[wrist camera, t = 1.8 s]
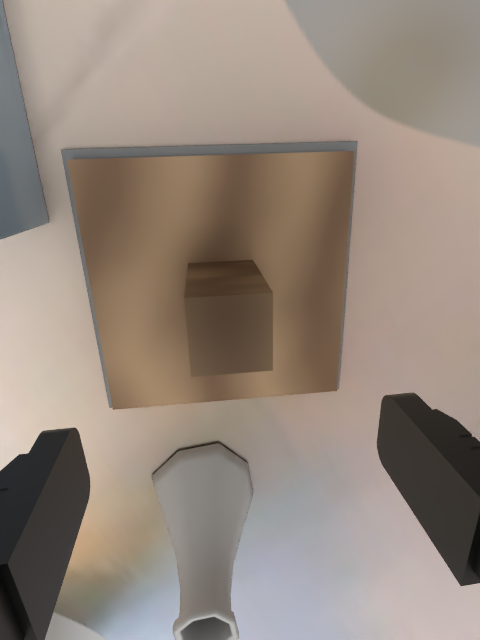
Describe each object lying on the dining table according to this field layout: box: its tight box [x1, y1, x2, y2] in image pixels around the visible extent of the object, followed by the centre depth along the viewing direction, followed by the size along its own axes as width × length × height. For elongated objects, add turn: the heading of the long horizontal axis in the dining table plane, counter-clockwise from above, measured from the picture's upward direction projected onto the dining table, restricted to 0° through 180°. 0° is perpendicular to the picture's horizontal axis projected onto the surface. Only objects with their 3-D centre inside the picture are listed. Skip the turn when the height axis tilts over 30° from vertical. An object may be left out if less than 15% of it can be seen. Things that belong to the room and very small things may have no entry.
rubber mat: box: [61, 141, 357, 408], centre depth 22 cm, size 15×15×1 cm
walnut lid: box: [67, 151, 355, 410], centre depth 19 cm, size 14×14×7 cm
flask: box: [152, 443, 253, 640], centre depth 23 cm, size 7×7×10 cm
